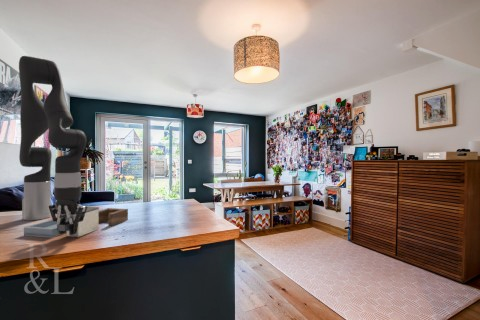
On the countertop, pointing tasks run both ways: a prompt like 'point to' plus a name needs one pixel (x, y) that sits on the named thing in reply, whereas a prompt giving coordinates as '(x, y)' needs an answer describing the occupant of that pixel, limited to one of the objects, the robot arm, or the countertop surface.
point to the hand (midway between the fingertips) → (67, 233)
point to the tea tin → (83, 223)
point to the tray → (42, 229)
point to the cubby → (113, 216)
